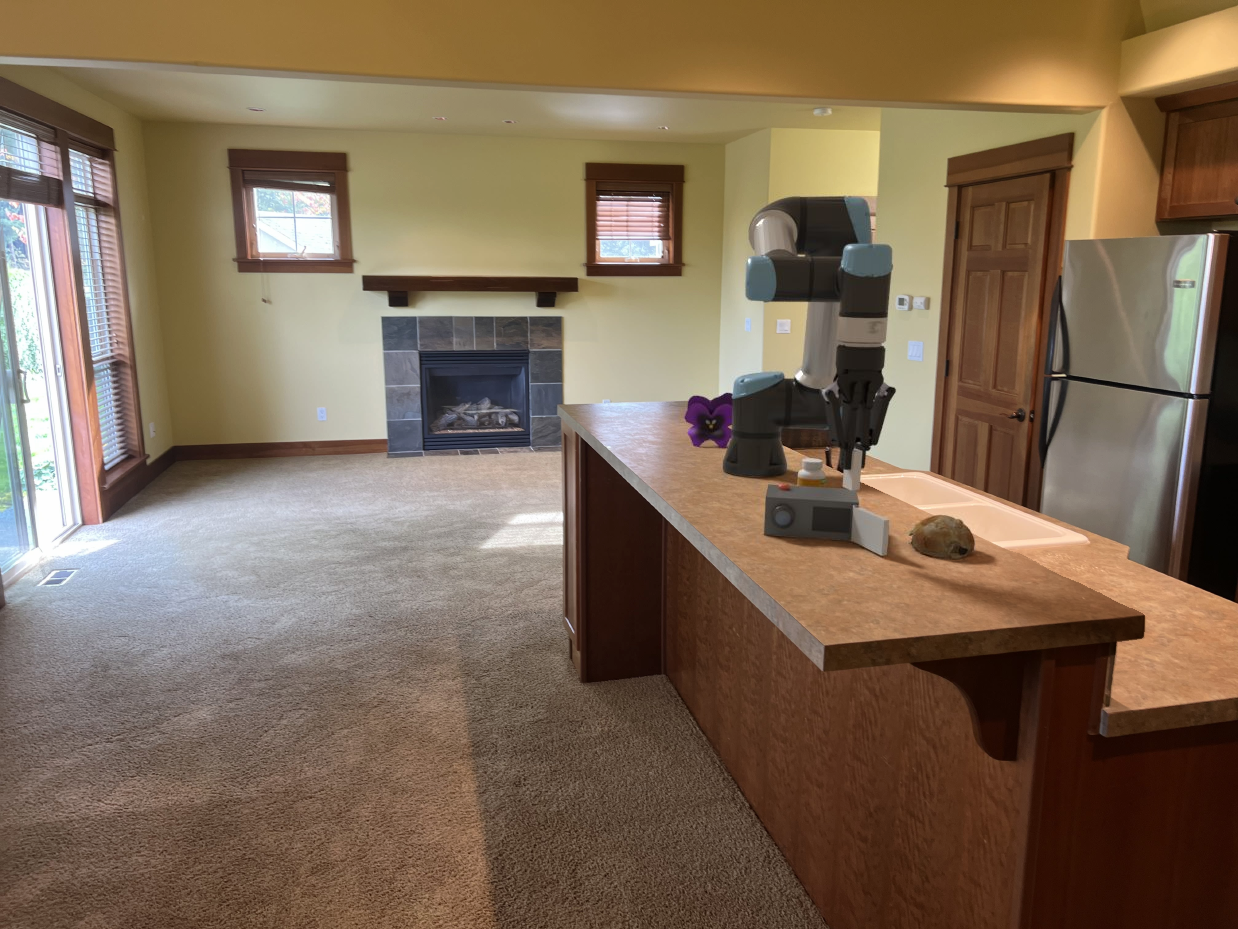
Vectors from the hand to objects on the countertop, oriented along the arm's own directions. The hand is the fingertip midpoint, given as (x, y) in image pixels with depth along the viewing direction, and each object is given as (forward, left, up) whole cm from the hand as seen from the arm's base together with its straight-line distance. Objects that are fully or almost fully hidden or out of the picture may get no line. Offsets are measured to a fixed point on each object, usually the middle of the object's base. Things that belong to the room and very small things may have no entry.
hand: (851, 488), depth 146 cm
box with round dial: (-13, -6, -11) cm, 18 cm away
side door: (-4, +4, -11) cm, 12 cm away
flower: (-96, -33, -12) cm, 102 cm away
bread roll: (-6, +16, -12) cm, 20 cm away
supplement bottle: (-30, -6, -12) cm, 33 cm away
